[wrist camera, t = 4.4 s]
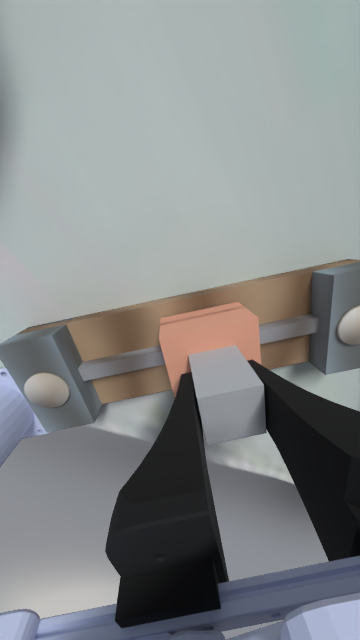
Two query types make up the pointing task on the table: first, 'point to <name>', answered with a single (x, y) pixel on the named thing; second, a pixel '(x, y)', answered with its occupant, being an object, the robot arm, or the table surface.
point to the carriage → (218, 367)
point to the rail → (145, 350)
